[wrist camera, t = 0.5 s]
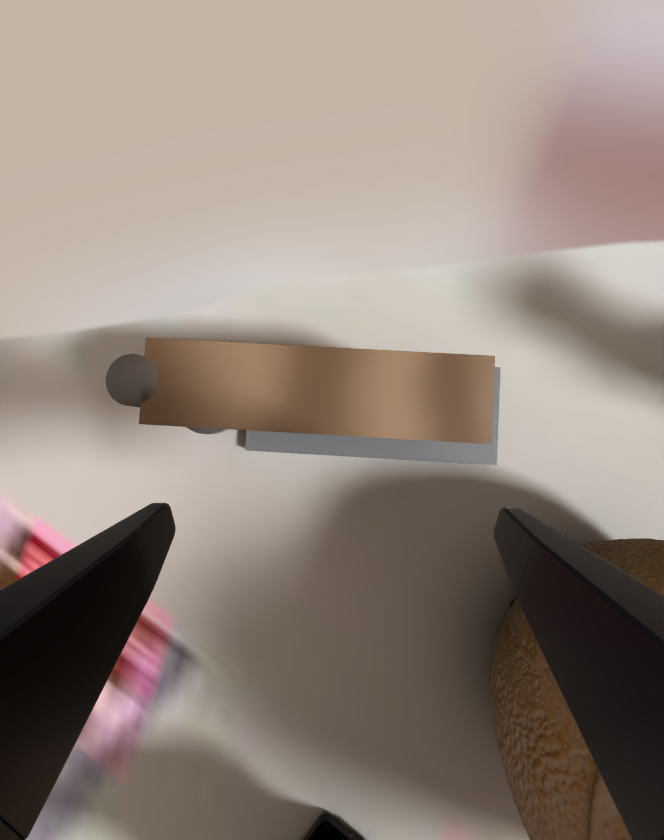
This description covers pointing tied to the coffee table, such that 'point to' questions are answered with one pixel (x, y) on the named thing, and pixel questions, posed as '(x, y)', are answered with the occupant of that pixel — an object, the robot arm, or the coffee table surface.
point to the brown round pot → (556, 721)
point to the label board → (381, 444)
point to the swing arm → (308, 390)
